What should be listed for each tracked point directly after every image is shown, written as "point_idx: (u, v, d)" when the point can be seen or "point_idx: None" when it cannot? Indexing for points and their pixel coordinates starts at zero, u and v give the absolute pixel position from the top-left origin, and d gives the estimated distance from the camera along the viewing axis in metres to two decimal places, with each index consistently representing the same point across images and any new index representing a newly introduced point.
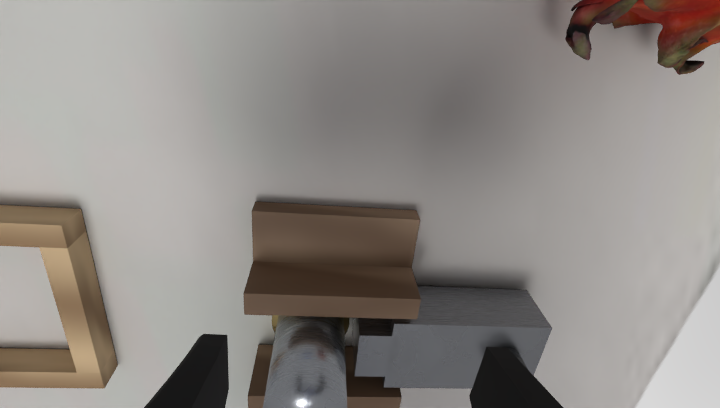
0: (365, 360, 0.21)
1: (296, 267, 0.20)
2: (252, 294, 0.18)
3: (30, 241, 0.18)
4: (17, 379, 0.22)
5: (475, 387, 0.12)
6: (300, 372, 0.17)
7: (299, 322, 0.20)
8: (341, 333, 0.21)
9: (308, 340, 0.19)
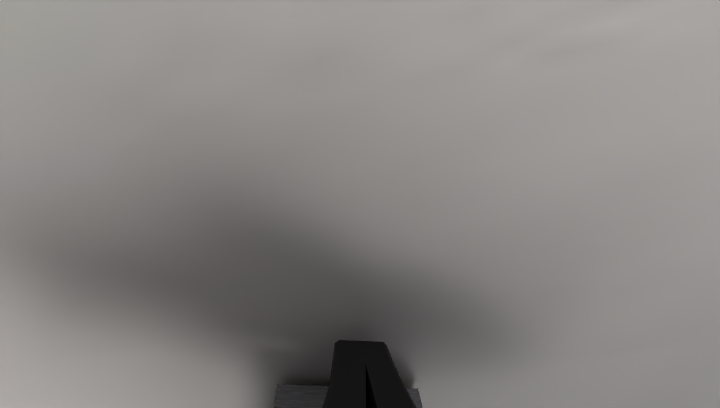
0: None
1: None
2: None
3: None
4: None
5: None
6: None
7: None
8: None
9: None
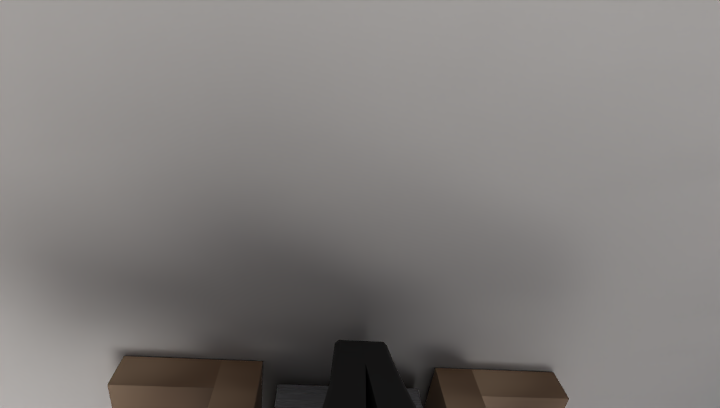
0: None
1: None
2: None
3: None
4: None
5: None
6: None
7: None
8: None
9: None
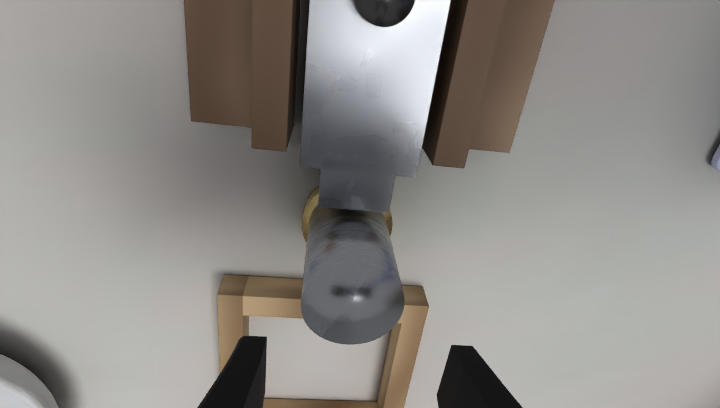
0: (361, 200, 0.16)
1: None
2: (252, 138, 0.14)
3: (237, 319, 0.20)
4: (402, 367, 0.23)
5: (441, 386, 0.12)
6: None
7: None
8: (330, 212, 0.17)
9: None
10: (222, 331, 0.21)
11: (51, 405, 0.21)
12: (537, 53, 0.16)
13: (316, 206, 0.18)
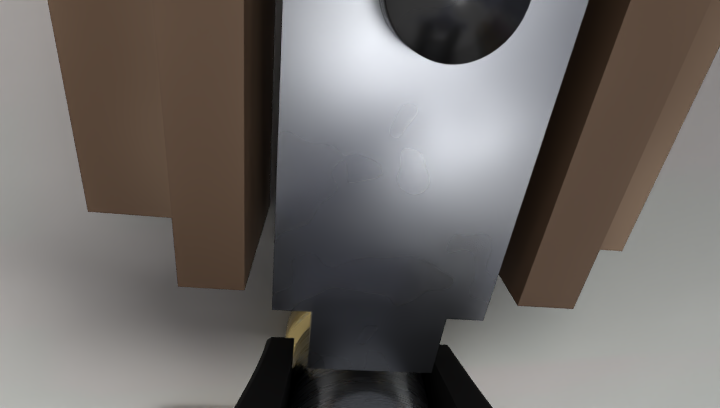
0: (383, 356, 0.09)
1: None
2: (178, 269, 0.07)
3: None
4: None
5: None
6: None
7: None
8: None
9: None
10: None
11: None
12: (693, 95, 0.09)
13: (305, 333, 0.11)
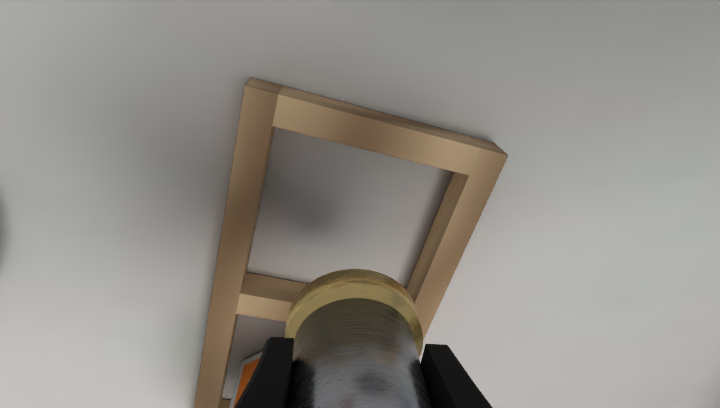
0: None
1: None
2: None
3: (263, 132, 0.15)
4: (453, 242, 0.18)
5: None
6: None
7: None
8: (329, 346, 0.10)
9: None
10: (240, 147, 0.16)
11: None
12: None
13: (306, 320, 0.12)
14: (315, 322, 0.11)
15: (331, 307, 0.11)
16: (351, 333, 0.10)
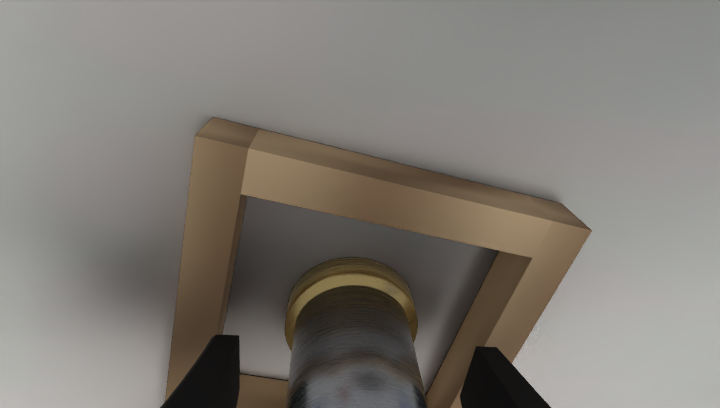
0: None
1: None
2: None
3: (227, 202, 0.10)
4: (504, 343, 0.13)
5: (465, 387, 0.12)
6: None
7: None
8: (327, 330, 0.11)
9: None
10: (193, 224, 0.10)
11: None
12: None
13: (306, 305, 0.12)
14: (314, 307, 0.12)
15: (330, 293, 0.12)
16: (348, 318, 0.11)
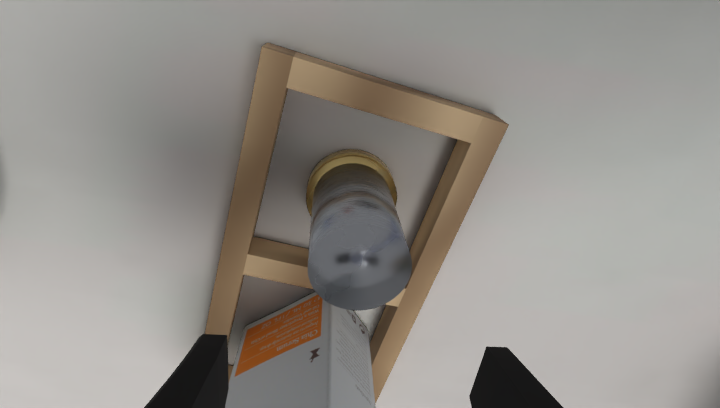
0: None
1: None
2: None
3: (277, 93, 0.16)
4: (454, 209, 0.19)
5: (475, 387, 0.12)
6: None
7: None
8: (337, 181, 0.17)
9: (310, 231, 0.16)
10: (254, 107, 0.16)
11: None
12: None
13: (321, 177, 0.18)
14: (328, 175, 0.18)
15: (338, 167, 0.18)
16: (351, 175, 0.17)
